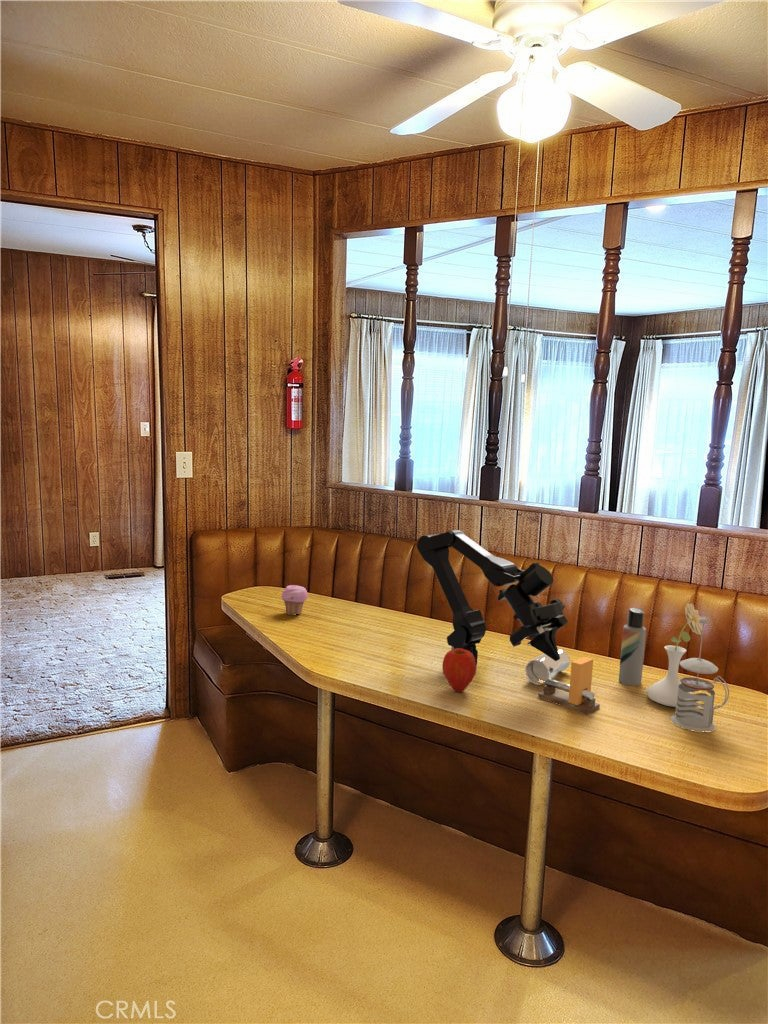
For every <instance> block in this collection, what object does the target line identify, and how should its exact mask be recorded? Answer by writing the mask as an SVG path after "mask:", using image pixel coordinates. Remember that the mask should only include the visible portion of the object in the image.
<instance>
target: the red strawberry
mask: <svg viewBox="0 0 768 1024" xmlns="http://www.w3.org/2000/svg"><path fill="white" fill-rule="evenodd" d="M441 667H442V673H443V675H444V678H445V680H446V681H447V683H448V684H449V686H450V687H451V689H452V690H453V691H454V692H457V693H462V692H464V691H465V689H467V687H468V686H469V684H471V682H472V681H473V679H474V677H475V675H476V671H477V668H476V667H477V665H476V662H475V658H474V656H473V654H472V653H471V652H470V651H468V650H465V649H462V648H455V649H452V650H451V649H450V650H449V651H447V652H446V653H445V655H444V657H443V659H442V666H441Z"/></svg>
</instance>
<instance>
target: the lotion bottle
mask: <svg viewBox="0 0 768 1024" xmlns="http://www.w3.org/2000/svg"><path fill="white" fill-rule="evenodd" d="M644 616H645V610H642V609H640V608H638V607H631V608H629V610H628V613H627V621H626V622H627V623H626V624H624V625H623V628H622V637H621V638H622V639H621V650H620V658H619V660H620V661H619V669H618V670H619V672H618V681H619V682H620V683H621V684H623V685H625V686H630V687H631V686H632V687H638V686H640V685H641V684H642V677H643V669H644V668H643V666H644V657H645V647H646V638H647V637H646V635H647V628H646V627H645V626H644V619H645V617H644Z"/></svg>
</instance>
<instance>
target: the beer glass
mask: <svg viewBox="0 0 768 1024" xmlns="http://www.w3.org/2000/svg"><path fill="white" fill-rule="evenodd" d="M557 649H558V652H559V656H560V659H559V660H558V661H555V660H553V659H552V658H550V657H549V656H547V655H546V654H544V653H542V654H540V655H537V656H536V657H534V658H533V659H531V660H529V662H528V663H527V664H526V666H525V676H526V677H527V679H528V681H529V682H530V683H532V684H533V685H537V686H541V685H546V679H547V678H550V679H553V680H555V678H556V677H557V676H558V675H559V674H560V672H563V671H566V670H567V669H568V668H569V666H570V665H571V659H570V656H569V654H568V653H567V651H565V650H563V649H561V648H557ZM539 679H540V680H543V681H545V682H543V683H540V682H538V681H539Z"/></svg>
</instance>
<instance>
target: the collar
mask: <svg viewBox="0 0 768 1024" xmlns="http://www.w3.org/2000/svg"><path fill="white" fill-rule="evenodd" d="M570 665H571V666H570V678H569V685H570V688H569V692H568V694H569V700H568V702H569V703H572V704H575V705H579V704H581V703H583V702H584V701H585V700H586V699H587V698H584V697H582V690H583V689H584V690H587V691H590V692H592V691H591V690H592V681H593V680H592V678H593V667H594V658H590V657H587V656H582V657H580V658H578V659H576V660H573V661H571V663H570Z"/></svg>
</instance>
